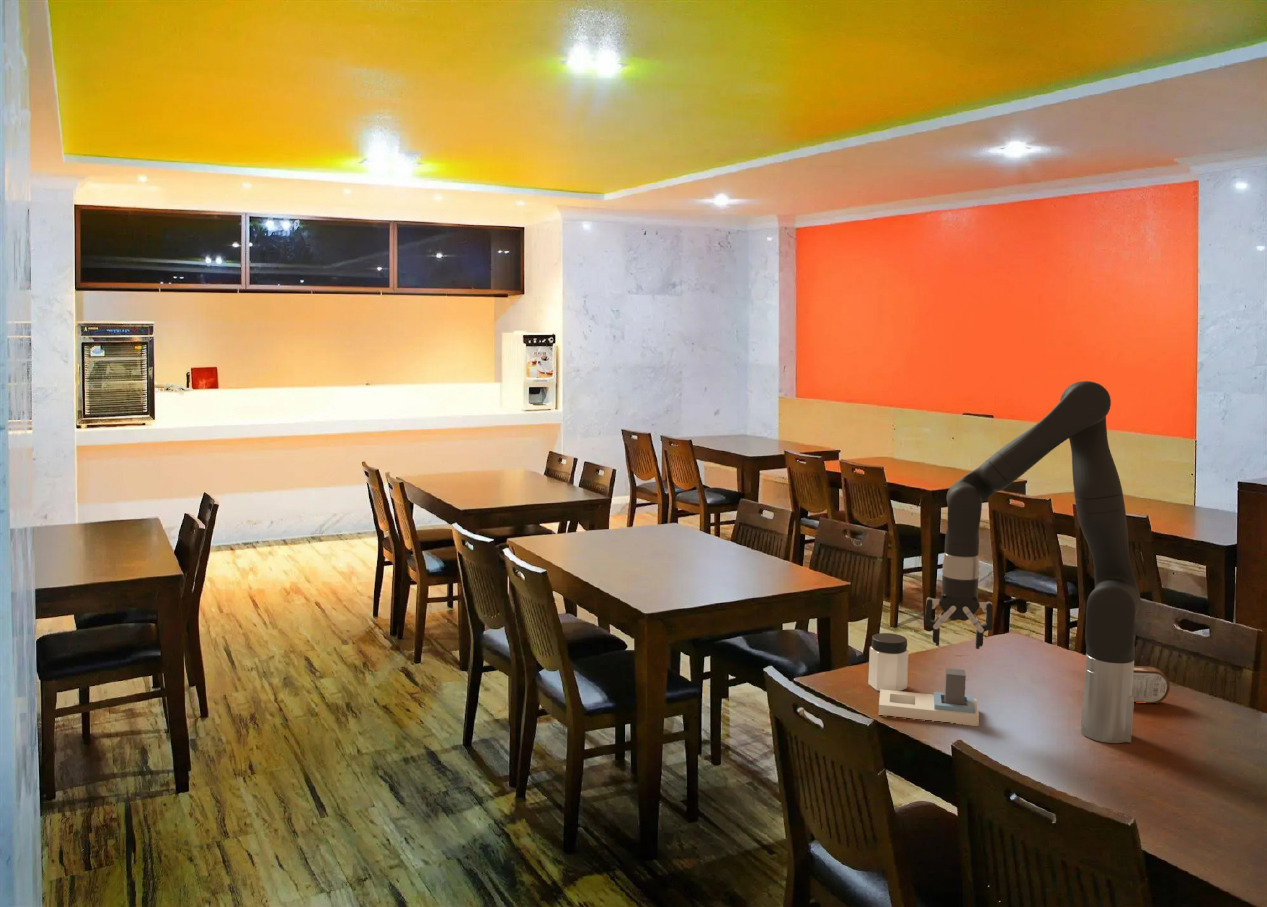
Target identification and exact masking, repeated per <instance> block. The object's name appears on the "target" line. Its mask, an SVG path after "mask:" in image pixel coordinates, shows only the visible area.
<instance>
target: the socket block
mask: <svg viewBox="0 0 1267 907" xmlns="http://www.w3.org/2000/svg"><path fill="white" fill-rule="evenodd" d="M944 696H945V691H944V692H943V691H933V694H930V693H921V692H910V691H903V690H901V691H892V690H882V689H880V691H879V700H878V701H879V702H878V716H879V715H891V716H899V717H907V718H914V719H913V720H915V719H925V720H932V721H931V722H934V721H943V722H951V723H950V724H953V723H956V724H955V725H962V724H963V725H965V726H973V727H974V726H975V727H979V725H980V722H979V721H980V714H979V713H980V712H979V707H978V701H977V698H974V695H973V694H965V699H964V705H955V704H945V703H944ZM925 720H924V721H925ZM943 722H942V723H943Z"/></svg>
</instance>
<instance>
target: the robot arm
mask: <svg viewBox="0 0 1267 907" xmlns="http://www.w3.org/2000/svg"><path fill="white" fill-rule="evenodd" d="M1059 400H1060V401H1059V402H1058V403H1057V404H1056V405H1055V406H1054V408H1052V409H1051V411H1050V412H1049V413H1048V414H1047V415H1045V416H1044V417H1043V418H1042V419H1040V420H1039V421H1037V423H1036V424H1034V425H1033V426H1031V427H1030V428H1029V429H1027V430H1026V431H1025V432H1023V433H1021V434H1019V435H1018V436H1017V437H1015V438H1013V439H1012V440H1011V441H1010V442H1008V443H1007V444H1005V445H1004V446H1002V447H1001V448H1000V449H999V450H997V451H996V452H995V453H994V454H993V455H991V456H990V457H988V459H986V460H985V461H984V462H983V463H982V464H981V465H979V466H978V467H977V468H975V469H973V470H972V471H970V472H969V473H967V474H966V475H964V476H963V477H961V478H959V479H958V480H957V481H955V482H954V483H953V484H952V485H951V486H950V487H949V488H948V490H947V493H946V503H947V529H946V533H945V535H944V536H945V537H944V538H945V539H944V556H943V560H942V573H941V574H942V575H941V576H942V579H941V596H940V597H939V598H932V597H930V596H927V598H926V601H925V602H926V604H925V613H924V625H925V626H927V627H930V628H932V643H933V644H935V646H936V647H940V635H941V634H940V633H941V632H940V629H941V628H940V627H941V626H942V625H943V624H945V622H946V621H947V620H948V619H949V620H951V621H957V620H959V621H962V622H967V621H968V620H969V621H970V622H971V624H972V625H973V626H974V627H975V629H976V631H975V650H979V649H980V648H981V647H983V645H984V633H985V632H987V631H989V632H990V631H993V628H994V626H993V625H994V623H993V621H994V619H993V618H994V617H993V616H994V615H993V614H994V613H993V612H994V611H993V607H994V606H993V603H992V601H991V600H987V601H986V602H985V601H983V602H982V601H979V600H978V599H979V598H978V597H979V596H978V594H979V576H980V561H979V560H980V559H979V553H980V552H979V549H980V548H979V547H980V534H979V531H980V526H981V517H982V509H983V508H982V506H983V502H984V501H985V500H987V499H989V498H990V497H991V496H992V495H993V494H995V493H996V492H1000V491H1003V490H1005V489H1006V488H1007V487H1009V486H1011V484H1013V483H1014V482H1015V481H1017V480H1018V479H1019V478H1021V477H1022V476H1023V475H1024V474H1025V473H1026V472H1028V471H1029V470H1030V469H1031V468H1033V467H1034V466H1035V465H1036V464H1038V463H1039V461H1041V460H1042V459H1043V458H1045V456H1047V455H1048V454H1049V453H1051V451H1054V449H1056V448H1057V447H1058V446H1060V445H1061V444H1062V443H1064V442H1066V441H1067V440H1069V445H1070V451H1071V464H1072V465H1071V467H1072V468H1071V470H1072V484H1073V492H1074V493H1073V494H1074V500H1075V501H1074V502H1075V508H1076V513H1077V519H1078V523H1079V525H1080V529H1081V531H1082V534H1083V537H1084V539H1085V541H1086V544H1087V545H1088V546H1087V547H1088V548H1089V550H1090V551H1089V552H1090V554H1091V558H1092V563H1093V573H1094V589H1093V590H1092V591H1091V592H1090V594H1089V595H1088V598H1087V600H1086V602H1087V603H1086V610H1085V611H1086V612H1085V629H1084V630H1085V632H1084V639H1085V640H1084V641H1085V645H1086V652H1085V665H1084V677H1083V678H1084V680H1083V682H1084V683H1083V691H1082V692H1083V693H1082V694H1083V695H1082V696H1083V697H1082V708H1081V722H1080V732H1081V734H1082V735H1083V736H1085V737H1087V738H1089V739H1091V740H1094V741H1097V742H1100V743H1107V744H1120V743H1131V742H1132V733H1133V722H1134V721H1133V717H1134V706H1135V703H1134V698H1133V696H1132V685H1133V671H1134V666H1135V658H1136V656H1135V655H1136V646H1135V643H1134V639H1135V623H1136V616H1137V614H1138V613H1139V611H1140V609H1141V606H1142V605H1141V604H1142V602H1141V600H1142V598H1141V594H1140V591H1139V587H1138V583H1137V580H1136V575H1135V573H1134V568H1133V565H1132V561H1131V555H1130V548H1129V534H1128V533H1129V532H1128V531H1129V530H1128V523H1127V514H1126V505H1125V498H1124V492H1123V488H1122V482H1121V479H1120V475H1119V473H1118V470H1117V467H1116V464H1115V461H1114V457H1113V455H1112V453H1111V449H1110V445H1109V440H1108V438H1109V437H1108V431H1107V430H1108V429H1107V415H1108V414H1109V412H1110V411H1111V410H1110V409H1111V405H1112V401H1111V400H1112V399H1111V395H1110V393H1109V391H1108V390H1107V389H1106V388H1105V387H1104V386H1103V385H1102V384H1100V383H1098V382H1094V381H1090V380H1089V381H1088V380H1083V381H1076V382H1074V383H1072V384H1070V385H1068V387H1066V388H1065V389H1064V391H1063V392H1062V394H1061V396H1060V399H1059ZM937 605H939V607H940V608H941V609H942V611H941V612H940V613H939V615H938V617H937V618H935V620H933V619H932V612H933V611H932V610H934V609H935V608H936V607H937ZM980 608H981V609H982V612H983V613H985V623H981V621H980V620H979V618H978V617H977V615H976V612H977V611H978V610H979V609H980Z"/></svg>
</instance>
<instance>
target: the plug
mask: <svg viewBox="0 0 1267 907" xmlns="http://www.w3.org/2000/svg"><path fill="white" fill-rule="evenodd" d="M966 676H967V675H966V670H965V669H960V668H959V669H957V668H950V667H945V677H944V678H945V681H944V684H945V685H944V693H945V696H944V703H945V704H955V705H964V699H965V695H966V680H967V679H966V678H967V677H966Z"/></svg>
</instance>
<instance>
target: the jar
mask: <svg viewBox="0 0 1267 907" xmlns="http://www.w3.org/2000/svg"><path fill="white" fill-rule="evenodd" d="M907 648H908V638H906V637H905V636H903V635H901V634H897V633H890V632H881V633H876V634H875V633H874V634H873V635H872V636H871V646H869V654H868V656H869V658H868V660H869V661H868V685H869V686H870V687H872V688H873V689H874V690H876V691H877V692H880V689H882V690H892V691H903V690H907V689H908V674H909V673H908V672H909V650H908V649H907Z"/></svg>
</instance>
